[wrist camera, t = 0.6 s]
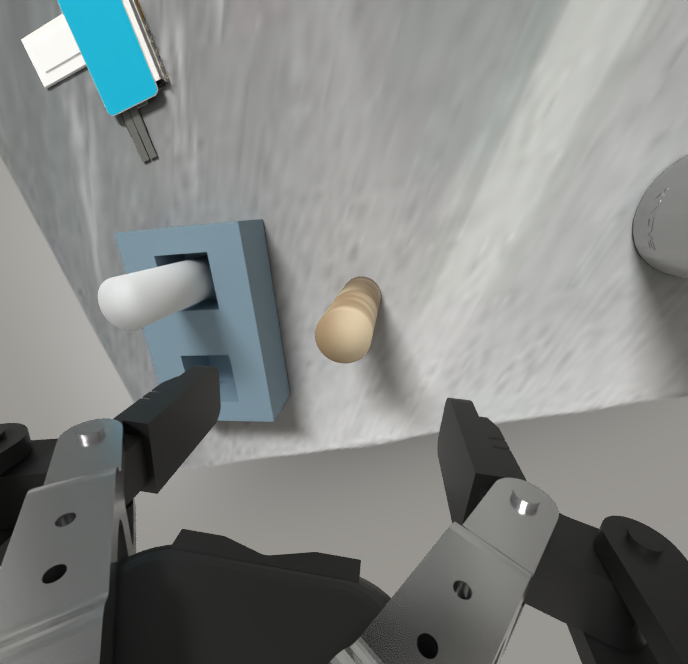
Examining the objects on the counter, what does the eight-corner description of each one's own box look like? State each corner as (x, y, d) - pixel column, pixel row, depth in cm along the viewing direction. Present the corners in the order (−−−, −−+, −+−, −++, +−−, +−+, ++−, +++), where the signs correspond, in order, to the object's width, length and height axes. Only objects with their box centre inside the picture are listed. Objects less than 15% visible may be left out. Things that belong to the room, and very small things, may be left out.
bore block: (262, 219, 30) (182, 225, 19) (290, 394, 36) (241, 476, 25) (154, 229, 32) (26, 239, 21) (197, 394, 38) (114, 469, 27)
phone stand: (-29, -76, 27) (-55, -94, 25) (85, -165, 24) (63, -191, 22) (98, 185, 32) (83, 184, 31) (202, 139, 29) (192, 135, 28)
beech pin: (379, 275, 31) (369, 308, 20) (381, 313, 32) (373, 363, 22) (340, 277, 31) (311, 311, 21) (344, 315, 32) (318, 363, 22)
